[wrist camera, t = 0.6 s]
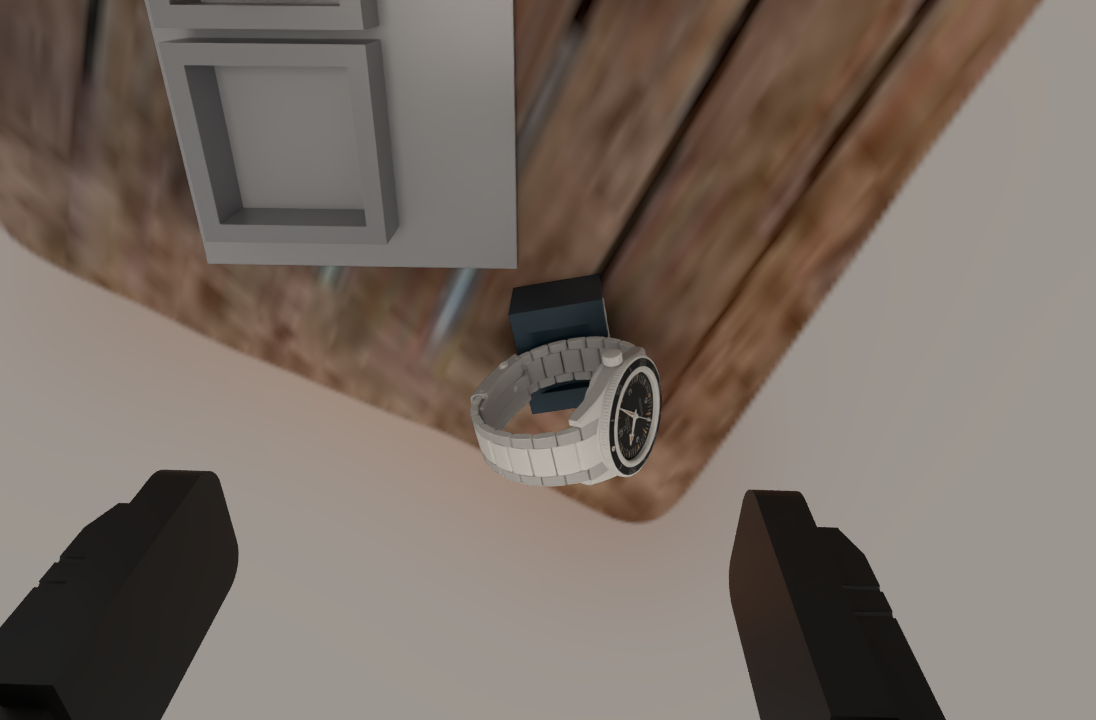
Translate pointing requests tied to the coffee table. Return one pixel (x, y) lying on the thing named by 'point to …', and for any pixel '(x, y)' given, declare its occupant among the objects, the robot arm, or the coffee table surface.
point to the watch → (568, 391)
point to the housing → (346, 129)
